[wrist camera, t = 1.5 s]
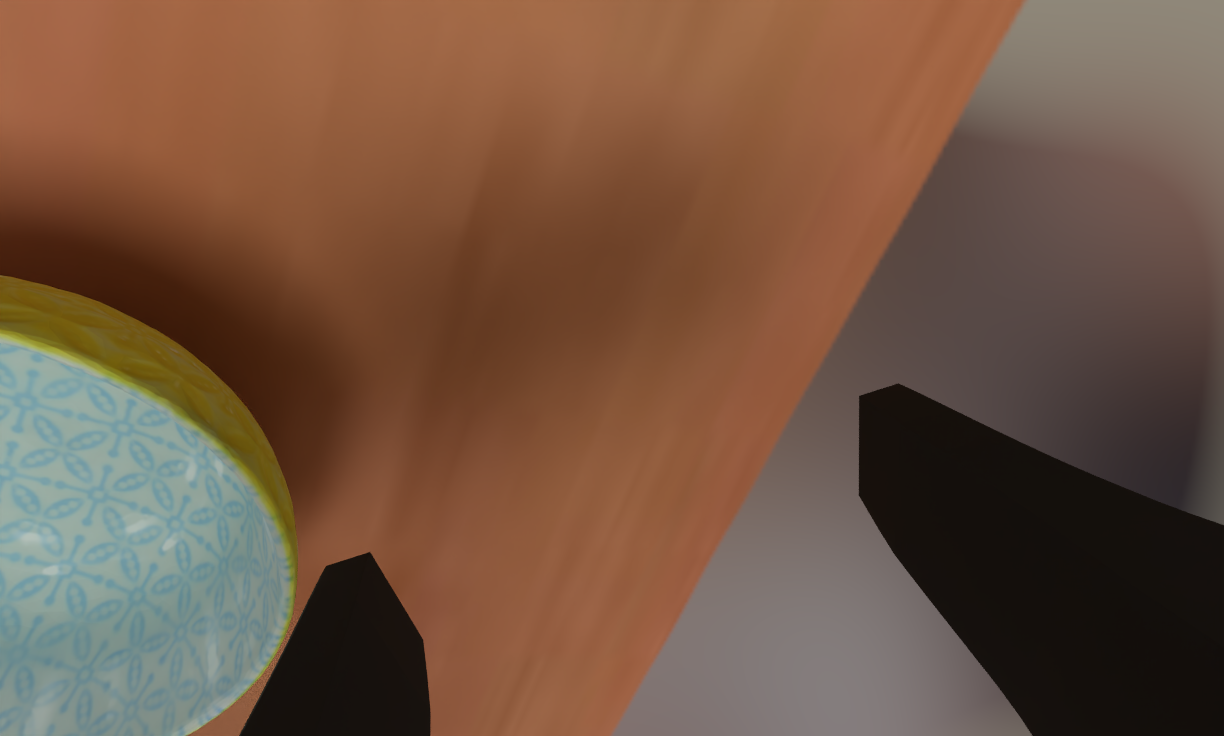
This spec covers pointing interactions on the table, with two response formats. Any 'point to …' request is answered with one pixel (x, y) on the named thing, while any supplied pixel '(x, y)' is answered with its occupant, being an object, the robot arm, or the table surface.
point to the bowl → (129, 527)
